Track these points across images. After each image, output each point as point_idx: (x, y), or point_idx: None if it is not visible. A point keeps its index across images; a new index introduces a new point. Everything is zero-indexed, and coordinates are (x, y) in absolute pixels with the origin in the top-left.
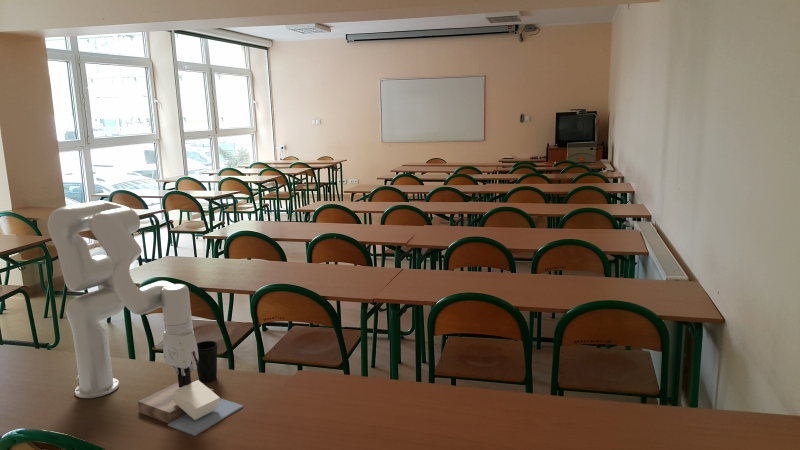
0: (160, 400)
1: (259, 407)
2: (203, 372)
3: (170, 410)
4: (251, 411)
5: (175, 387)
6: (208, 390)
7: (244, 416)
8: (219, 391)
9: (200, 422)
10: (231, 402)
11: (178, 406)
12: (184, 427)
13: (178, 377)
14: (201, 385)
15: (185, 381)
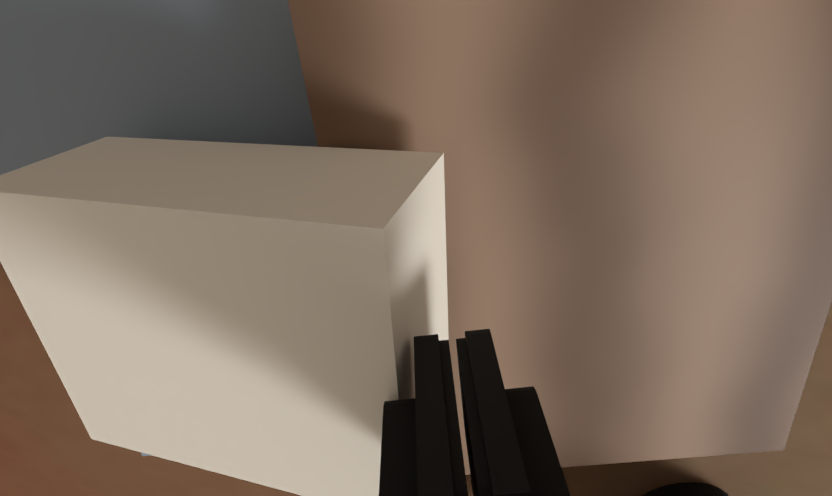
0: (666, 109)
1: (73, 486)
2: None
3: (334, 32)
4: (54, 442)
5: (737, 350)
6: (211, 456)
7: (15, 389)
8: (470, 478)
9: None
10: None
11: (349, 147)
12: (111, 17)
13: (501, 456)
14: (307, 477)
15: (383, 442)
